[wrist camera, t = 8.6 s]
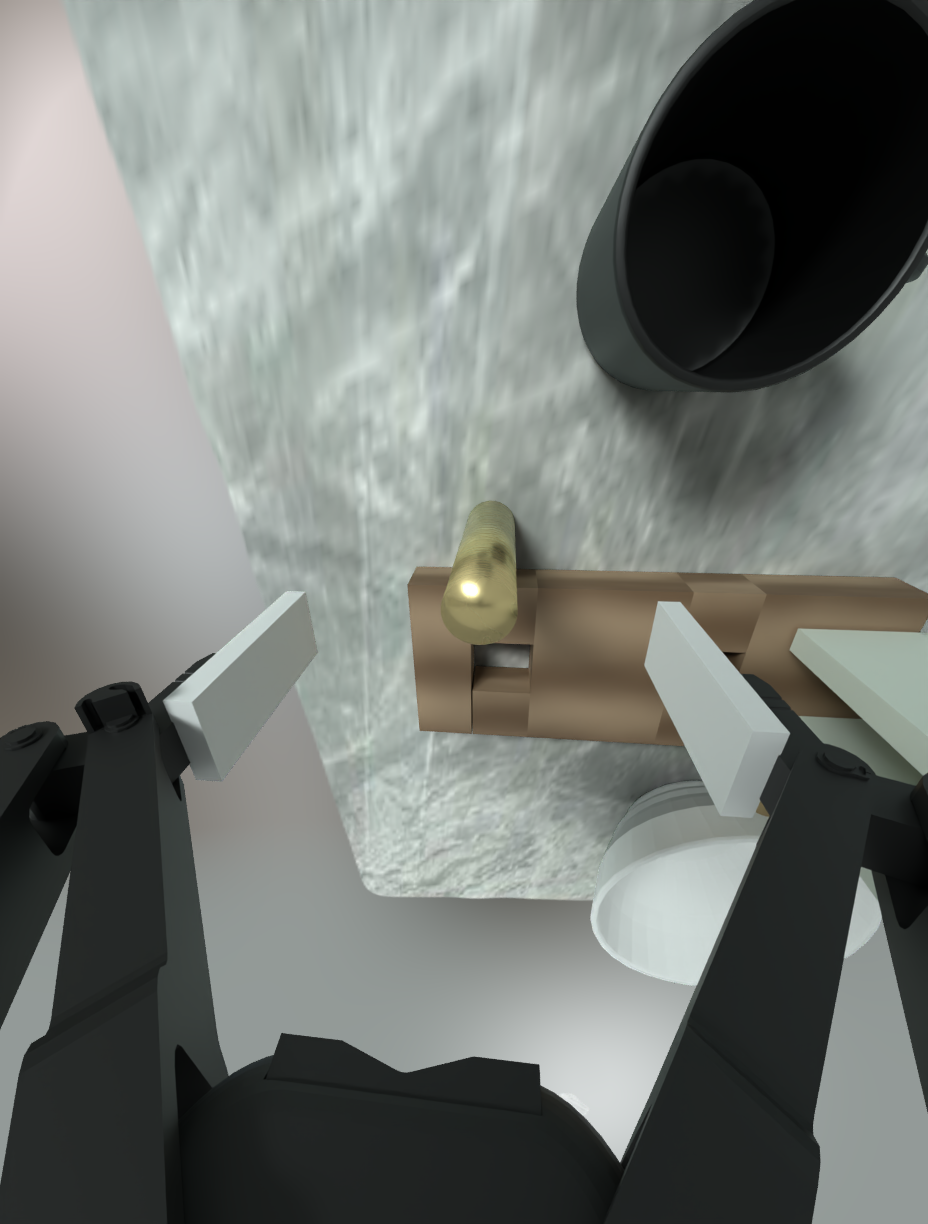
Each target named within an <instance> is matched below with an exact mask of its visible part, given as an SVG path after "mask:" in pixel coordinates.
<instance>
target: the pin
mask: <svg viewBox="0 0 928 1224" xmlns="http://www.w3.org/2000/svg"><path fill="white" fill-rule="evenodd" d="M517 614H518V611H517V581H516V550H515V522H514V517H513V514H512V512H511V511H510V510H509V508H508V507H506V506H505V505H504V504H502V503H500V502H496V501H486V502H483V503H480V504H479V505H477V506H476V507H475V508H474V509H473V510H472V511H471V513H470V515H469V518H468V521H467V524H466V527H465V530H464V533H463V536H462V540H461V543H460V546H459V549H458V552H457V555H456V558H455V562H454V565H453V568H452V571H451V574H450V577H449V580H448V584H447V587H446V590H445V593H444V596H443V599H442V602H441V617H442V620H443V623H444V625H445V626H446V628H447V629H448V631H449V632H450V633H451V634H452V635H454V636H455V637H456V638H458V639H459V640H461V641H463V642H466V643H469V644H474V645H486V644H491V643H495V642H497V641H499V640H501V639H503V638H504V637H505V636H507V635H508V634H509V633H510V631H511V630H512V629H513V627H514V625H515V623H516V620H517Z"/></svg>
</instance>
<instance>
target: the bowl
mask: <svg viewBox="0 0 928 1224" xmlns="http://www.w3.org/2000/svg"><path fill="white" fill-rule="evenodd" d="M768 818H769V817H767V816H763V815H760V814H758V813H756V812H755V814H754V816H753V818H744V817H729V816H720V814H719V812H718V810H717V808H716V806H715V804H714V802H713V800H712V798H711V797H710V795H709V793H708V791H707V789H706V787H705V785H704V783H703V781H694V780H693V781H682V782H676V783H672V784H667V785H664V786H661V787H659V788H656V789H654V790H652V791H650V792H648V793H646V794H644V795H643V796H642V797H640V798H639V799H638V800H636V801H635V802H634V803H633V805H632V806H631V807H630V808H629V810H628V812H627V814H626V815H625V817H624V818H623V819H622V820H621V821H620V823H619V824H618V826H617V828H616V830H615V831H614V833H613V837H612V839H611V841H610V843H609V845H608V847H607V849H606V851H605V854H604V857H603V859H602V861H601V863H600V866H599V871H598V876H597V881H596V887H595V893H594V898H593V905H592V911H591V917H590V918H591V923H592V929H593V932H594V934H595V936H596V938H597V939H598V941H599V943H600V944H601V946H602V947H603V948H604V949H605V950H606V951H607V952H608V953H609V954H610V955H611V956H612V957H613V958H615V959H617V960H618V961H619V962H621V963H623V964H624V965H626V966H627V967H629V968H631V969H634V970H636V971H638V972H641V973H643V974H645V975H648V976H651V977H655V978H658V979H661V980H664V981H669V982H674V983H679V984H684V985H692V986H697V984H698V982H699V979H700V977H701V975H702V972H703V970H704V968H705V965H706V963H707V961H708V958H709V956H710V954H711V951H712V949H713V947H714V944H715V942H716V939H717V937H718V935H719V932H720V930H721V928H722V925H723V923H724V921H725V918H726V916H727V914H728V911H729V909H730V907H731V904H732V902H733V900H734V897H735V895H736V893H737V890H738V888H739V886H740V883H741V881H742V879H743V876H744V874H745V871H746V869H747V867H748V864H749V862H750V860H751V857H752V855H753V853H754V850H755V848H756V844H757V842H758V840H759V837H760V835H761V833H762V831H763V829H764V827H765V825H766V822H767V820H768ZM881 919H882V915H881V910H880V906H879V902H878V901H877V899H876V898H875V896H874V895H873V894H872V892H871V891H870V890H869V888H868V887H867V885H866V884H865V883H864V881H863V880H862V878H861V877H860V876H859V880H858V886H857V891H856V896H855V902H854V907H853V912H852V917H851V923H850V928H849V933H848V939H847V944H846V949H845V955H844V959H845V958H847V957H849V956H851V955H852V954H854V953H855V952H856V951H857V950H858V949H860V948H861V947H862V946H863V945H865V943H867V942H868V941H869V940H870V938H871V937H872V936H873V934H874V933H875V932H876V930H877V929H878V927H879V925H880V922H881Z"/></svg>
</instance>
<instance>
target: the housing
mask: <svg viewBox="0 0 928 1224" xmlns="http://www.w3.org/2000/svg"><path fill="white" fill-rule="evenodd" d="M790 651H791V652H792V653H793V654H794V655H795V656H796V657H797V658H798V659H799V660H800V661H802V662H803V663H804V664H805V665H806V666H807V667H808V668H809V669H810V670H811V671H812V672H813V673H814V674H815V675H816V676H818V677H819V678H820V679H821V680H822V681H823V682H824V683H825V684H826V685H827V686H828V687H829V688H830V689H831V690H832V691H834V692H835V693H836V694H837V695H838V696H839V697H840V698H841V699H842V700H843V701H844V702H845V703H846V704H847V705H848V706H849V707H851V708H852V709H853V710H854V711H855V712H856V713H857V714H858V715H859V716H860V717H861V718H862V719H850V718H830V717H811V716H799V717H800V718H801V719H802V720H803V721H804V723H805V724H806V725H807V726H808V727H809V728H810V729H811V730H812V731H813V733H814V734H815V735H816V736H817V737H818V738H819V739H820V740H821V741H822V742H823V743H824V744H830V745H833V746H836V747H839V748H842V749H844V750H846V751H848V752H850V753H852V754H854V755H856V756H857V757H859V758H860V759H861V760H863V761H864V762H865V763H867V764H868V765H869V766H870V767H871V769H872V770H873V771H874V772H875V774H876V775H877V776H880V777H884V778H888V779H892V780H896V781H900V782H903V783H907V784H911V785H915V786H916V785H917V784H918V782H919V781H920V779H921V778H922V776H924V775H925V774H927V773H928V633H919V632H889V631H859V630H829V629H799V628H798V630H797V633H796V635H795V637H794V640H793V642H792V645H791V647H790ZM859 876H860V877H861V878H862V880H863V881H864V883H865V884H866V885H867V887H868V888H869V890H870V891H871V892H872V894H873V895H874V896H875V898H876V899H877V901H878V898H877V893H876V889H875V885H874V881H873V876H872V872H871V870H869V869H866V868H863V867H861V870H860V875H859Z"/></svg>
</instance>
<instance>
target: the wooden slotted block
mask: <svg viewBox="0 0 928 1224" xmlns="http://www.w3.org/2000/svg"><path fill="white" fill-rule="evenodd" d="M451 571H452V568H451V567H416V569H415V571H414V573H413V575H412V577H411V579H410V581H409V583H408V596H409V608H410V620H411V632H412V644H413V656H414V668H415V680H416V692H417V704H418V716H419V728H420V731H435V732H452V733H469V734H471V733H472V724H473V734H486V735H503V736H520V737H538V738H555V739H572V740H589V741H606V742H623V743H640V744H657V745H675V746H685V745H684V743H683V741H682V739H681V737H680V735H679V733H678V731H677V729H676V727H675V725H674V723H673V721H672V719H671V717H670V715H669V714H668V712H667V710H666V708H665V706H664V704H663V702H662V700H661V698H660V696H659V694H658V692H657V690H656V688H655V686H654V684H653V682H652V680H651V678H650V676H649V674H648V672H647V670H646V668H645V666H644V664H645V659H646V655H647V650H648V645H649V641H650V636H651V632H652V627H653V622H654V618H655V613H656V608H657V604H658V601H663V602H681V603H682V605H683V606H684V607H685V608H686V609H687V611H688V612H689V613H690V614H691V615H692V617H693V618H694V619H695V620H696V621H697V623H698V624H699V625H700V626H701V627H702V629H703V630H704V631H705V632H706V633H707V635H708V636H709V637H710V638H711V639H712V640H713V642H714V643H715V644H716V645H717V646H718V648H719V649H720V650H721V651H722V652H723V654H724V655H725V656H726V657H727V658H728V660H729V661H730V662H731V663H732V664H733V666H734V667H735V668H736V669H737V670H738V672H739V673H740V674H754V675H755V676H757V677H758V678H760V679H762V680H763V681H765V682H766V683H768V684H769V685H771V686H772V687H773V688H774V690H775V691H776V692H777V693H778V694H779V695H780V696H781V697H782V700H784V701H785V702H786V703H787V704H788V705H789V706H790V707H791V710H794V712H795V713H796V714H797V715H798V716H811V717H830V718H850V719H862V718H861V717H860V716H859V715H858V714H857V713H856V712H855V711H854V710H853V709H852V708H851V707H849V706H848V705H847V704H846V703H845V702H844V701H843V700H842V699H841V698H840V697H839V696H838V695H837V694H836V693H835V692H834V691H832V690H831V689H830V688H829V687H828V686H827V685H826V684H825V683H824V682H823V681H822V680H821V679H820V678H819V677H818V676H816V675H815V674H814V673H813V672H812V671H811V670H810V669H809V668H808V667H807V666H806V665H805V664H804V663H803V662H802V661H800V660H799V659H798V658H797V657H796V656H795V655H794V654H793V653H792V652H791V651H790V647H791V645H792V642H793V640H794V637H795V635H796V633H797V630H798V628H799V629H829V630H859V631H889V632H919V633H920V631H921V629H922V627H923V626H924V624H925V622H926V620H927V619H928V593H925V592H923V591H921V590H919V589H917V588H915V587H913V586H911V585H909V584H907V583H905V582H903V581H901V580H899V579H897V578H889V577H845V576H802V575H758V574H714V573H670V572H626V571H582V570H538V569H516V581H517V611H518V614H517V620H516V623H515V625H514V627H513V629H512V630H511V631H510V633H509V634H508V635H507V636H505V637H504V638H503V639H501V640H499V641H497V642H495V643H507V644H530V655H529V668H509V667H487V666H475V675H474V644H469V643H466V642H463V641H461V640H459V639H458V638H456V637H455V636H454V635H452V634H451V633H450V632H449V631H448V629H447V628H446V626H445V625H444V623H443V620H442V617H441V602H442V599H443V596H444V593H445V590H446V587H447V584H448V580H449V577H450V574H451ZM756 813H758V814H760V815H763V816H767V817H769V816H770V815H769V814H768V812H767V811H766V809H765V807H764V806H763V804H762V803H761V801H760V803H759V805H758V807H757V810H756Z"/></svg>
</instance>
